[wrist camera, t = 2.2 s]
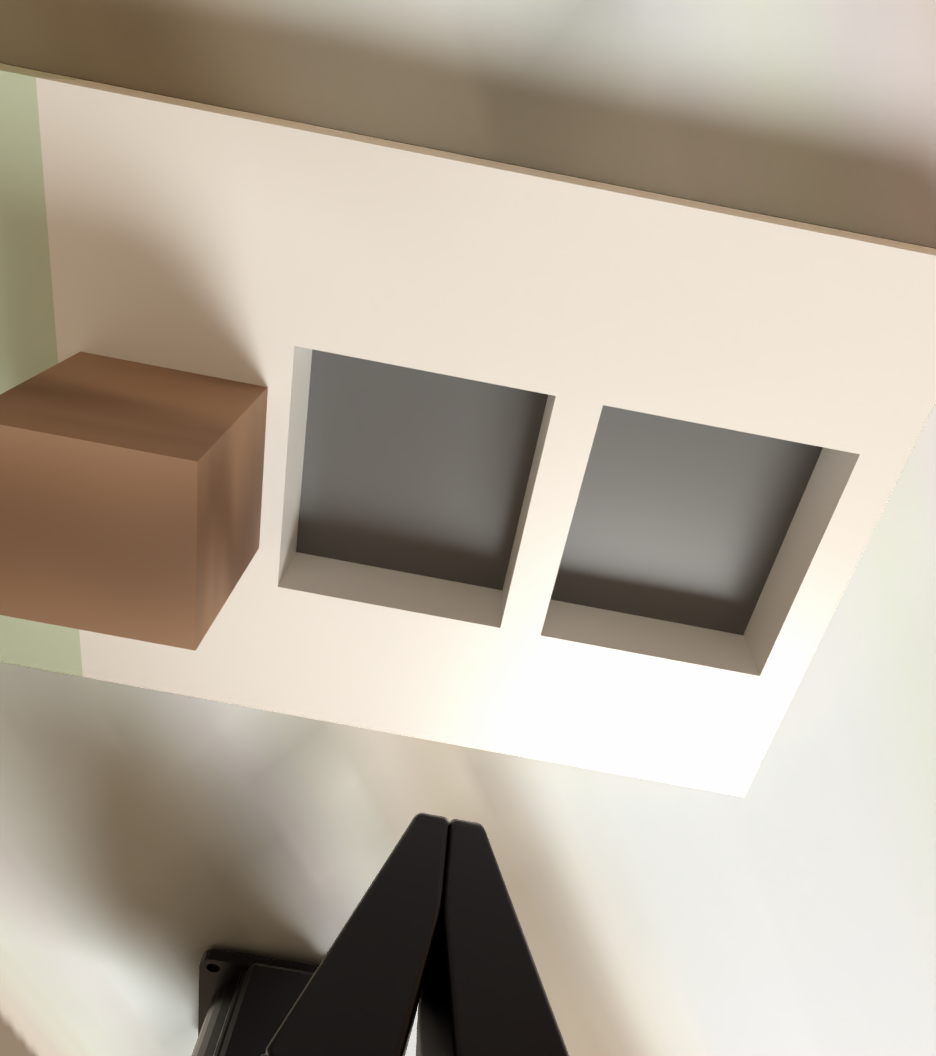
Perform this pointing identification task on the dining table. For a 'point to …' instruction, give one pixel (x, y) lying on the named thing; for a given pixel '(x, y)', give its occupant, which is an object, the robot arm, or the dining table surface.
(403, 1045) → the robot arm
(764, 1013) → the dining table surface
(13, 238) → the board
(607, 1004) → the dining table surface
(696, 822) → the dining table surface
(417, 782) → the dining table surface
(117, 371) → the walnut block
